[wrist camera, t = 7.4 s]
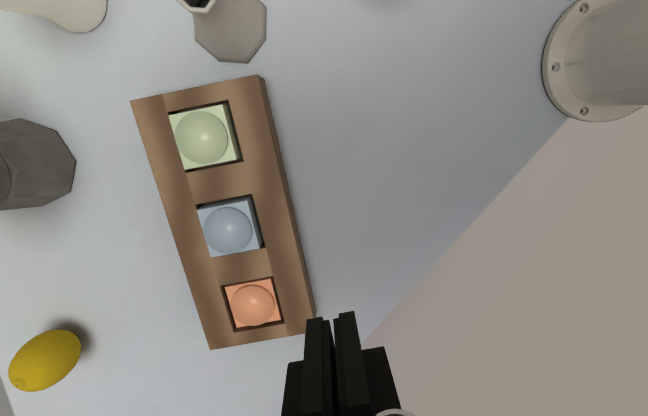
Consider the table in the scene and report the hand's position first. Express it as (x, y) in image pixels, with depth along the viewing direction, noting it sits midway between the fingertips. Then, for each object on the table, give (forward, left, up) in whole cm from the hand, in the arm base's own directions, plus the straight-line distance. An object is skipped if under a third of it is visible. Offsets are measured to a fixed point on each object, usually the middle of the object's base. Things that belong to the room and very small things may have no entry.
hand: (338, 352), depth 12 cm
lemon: (+34, +12, -27) cm, 45 cm away
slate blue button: (+10, +1, -25) cm, 27 cm away
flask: (+6, -18, -27) cm, 33 cm away
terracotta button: (+10, +10, -26) cm, 30 cm away
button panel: (+10, +1, -27) cm, 29 cm away
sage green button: (+10, -8, -25) cm, 28 cm away
